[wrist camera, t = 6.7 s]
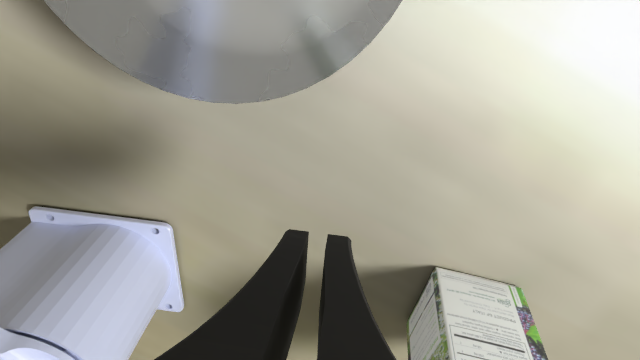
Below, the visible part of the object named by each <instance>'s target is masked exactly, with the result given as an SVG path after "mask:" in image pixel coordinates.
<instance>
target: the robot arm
mask: <svg viewBox="0 0 640 360" xmlns="http://www.w3.org/2000/svg"><path fill="white" fill-rule="evenodd" d="M29 216H30V219H31V223H30V224H29V225H27V226H26V227H25V228H24V229H23V230H22V231H21V232H19V233H18V234H17V235H16V236H15V237H14V238H13V239H11V240H10V241H9V242H8V243H7V244H6V245H4V246H3V247H2V248H1V249H0V360H128V359H129V357H130V355H131V353H132V352H133V350H134V348H135V346H136V345H137V343H138V341H139V339H140V338H141V336H142V334H143V332H144V331H145V329H146V327H147V325H148V324H149V322H150V320H151V318H152V317H153V315H154V313H155V311H156V309H159V310H167V311H174V312H180V311H182V309H183V307H184V300H183V294H182V287H181V281H180V274H179V268H178V261H177V254H176V248H175V241H174V235H173V229H172V227H171V226H170V225H169V224H167V223H164V222H157V221H149V220H141V219H133V218H125V217H117V216H109V215H101V214H93V213H85V212H78V211H70V210H62V209H54V208H46V207H38V206H34V207H33V208H31V209H30V210H29ZM155 228H157V229H158V230H156V229H155ZM308 233H309V232H306V231H298V230H290V229H289V230H288V231H286V232H285V234H284V235H283V237H282V239H281V240H280V242H279V243H278V245H277V246H276V248H275V249H274V251H273V252H272V253H271V255H270V256H269V257H268V259H267V260H266V261H265V262H264V264H263V265H262V266H261V267H260V268H259V270H258V271H257V272H256V273H255V275H254V276H253V277H252V278H251V279H250V280H249V281H248V282H247V283H246V284H245V286H244V287H243V288H242V289H241V290H240V291H239V292H238V293H237V294H236V295H235V296H234V297H233V298H232V299H231V300H230V301H229V302H228V303H227V304H226V305H225V306H224V307H223V308H222V309H220V310H219V311H218V312H217V313H216V314H215V315H214V316H213V317H211V318H210V319H209V320H208V321H207V322H205V323H204V324H203V325H202V326H200V327H199V328H198V329H197V330H196V331H194V332H193V333H192V334H190V335H189V336H188V337H186V338H185V339H184V340H182V341H181V342H179V343H178V344H176V345H175V346H173V347H172V348H171V349H169V350H168V351H166V352H165V353H163V354H162V355H161V356H159V357H157V358H156V359H154V360H286V358H287V355H288V351H289V348H290V344H291V341H292V337H293V334H294V330H295V327H296V323H297V320H298V316H299V312H300V308H301V303H302V297H303V291H304V285H305V278H306V263H307V248H308ZM317 360H396V358H395V357H394V355H393V353H392V352H391V350H390V348H389V346H388V344H387V343H386V341H385V339H384V337H383V335H382V333H381V331H380V329H379V327H378V325H377V323H376V321H375V319H374V317H373V314H372V312H371V310H370V307H369V305H368V303H367V300H366V298H365V295H364V292H363V289H362V286H361V283H360V280H359V278H358V274H357V271H356V267H355V263H354V259H353V255H352V248H351V240H350V239H349V238H348V237H346V236H338V235H330V234H328V237H327V243H326V249H325V258H324V268H323V279H322V289H321V300H320V310H319V331H318V356H317Z"/></svg>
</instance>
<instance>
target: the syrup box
mask: <svg viewBox="0 0 640 360" xmlns="http://www.w3.org/2000/svg"><path fill="white" fill-rule="evenodd" d="M407 345H408V360H548V358H547V355H546V353H545V350H544V347H543V345H542V342H541V339H540V336H539V333H538V331H537V328H536V326H535V323H534V320H533V318H532V315H531V312H530V310H529V307H528V304H527V302H526V299H525V296H524V293H523V291H522V289H521V288H519V287H517V286H513V285H510V284H506V283H502V282H498V281H493V280H489V279H485V278H482V277H477V276H473V275H469V274H465V273H460V272H456V271H451V270H447V269H443V268H439V267H436V268H435V269H434V270H433V272H432V274H431V276H430V278H429V280H428V282H427V284H426V286H425V288H424V290H423V292H422V294H421V296H420V298H419V300H418V302H417V304H416V306H415V307H414V310H413V311H412V313H411V315H410V317H409V319H408V321H407Z"/></svg>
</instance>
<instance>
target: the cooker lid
mask: <svg viewBox="0 0 640 360" xmlns="http://www.w3.org/2000/svg"><path fill="white" fill-rule="evenodd" d="M44 1H45V2H46V4H47V5H48V6H49V7H50V9H51V10H52V11H53V12H54V13H55V14H56V15H57V16H58V17H59V18H60V19H61V20H62V21H63V23H64V24H65V25H66V26H67V27H68V28H69V29H70V30H71V31H72V32H73V33H74V34H75V35H77V36H78V37H79V38H80V39H81V40H82V41H83V42H85V43H86V44H87V45H88V46H89V47H90V48H92V49H93V50H94V51H95V52H96V53H98V54H99V55H101V56H102V57H103V58H105V59H106V60H108V61H109V62H111V63H112V64H113V65H115V66H116V67H118V68H119V69H121V70H123V71H125V72H126V73H128V74H130V75H132V76H133V77H135V78H137V79H139V80H140V81H143V82H145V83H147V84H150V85H152V86H154V87H156V88H159V89H161V90H163V91H166V92H170V93H173V94H176V95H179V96H183V97H186V98H190V99H196V100H201V101H207V102H213V103H233V104H238V103H250V102H261V101H266V100H270V99H275V98H280V97H284V96H287V95H289V94H292V93H295V92H298V91H300V90H303V89H306V88H308V87H310V86H312V85H314V84H316V83H317V82H319V81H321V80H323V79H325V78H327V77H329V76H330V75H332V74H333V73H334V72H336V71H337V70H339V69H340V68H342V67H343V66H344V65H346V64H347V63H349V62H350V61H351V60H352V59H353V58H354V57H355V56H356V55H358V54H359V53H360V52H361V51H362V50H363V49H364V48H365V47H366V46H367V45H368V44H369V43H371V41H372V40H373V39H374V38H375V37H376V35H377V34H378V33H379V32H380V31H381V29H382V28H383V27H384V26H385V25H386V23H387V22H388V21H389V20H390V18H391V17H392V15H393V14H394V12H395V11H396V9H397V8H398V6H399V5H400V3H401V1H402V0H44Z"/></svg>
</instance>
